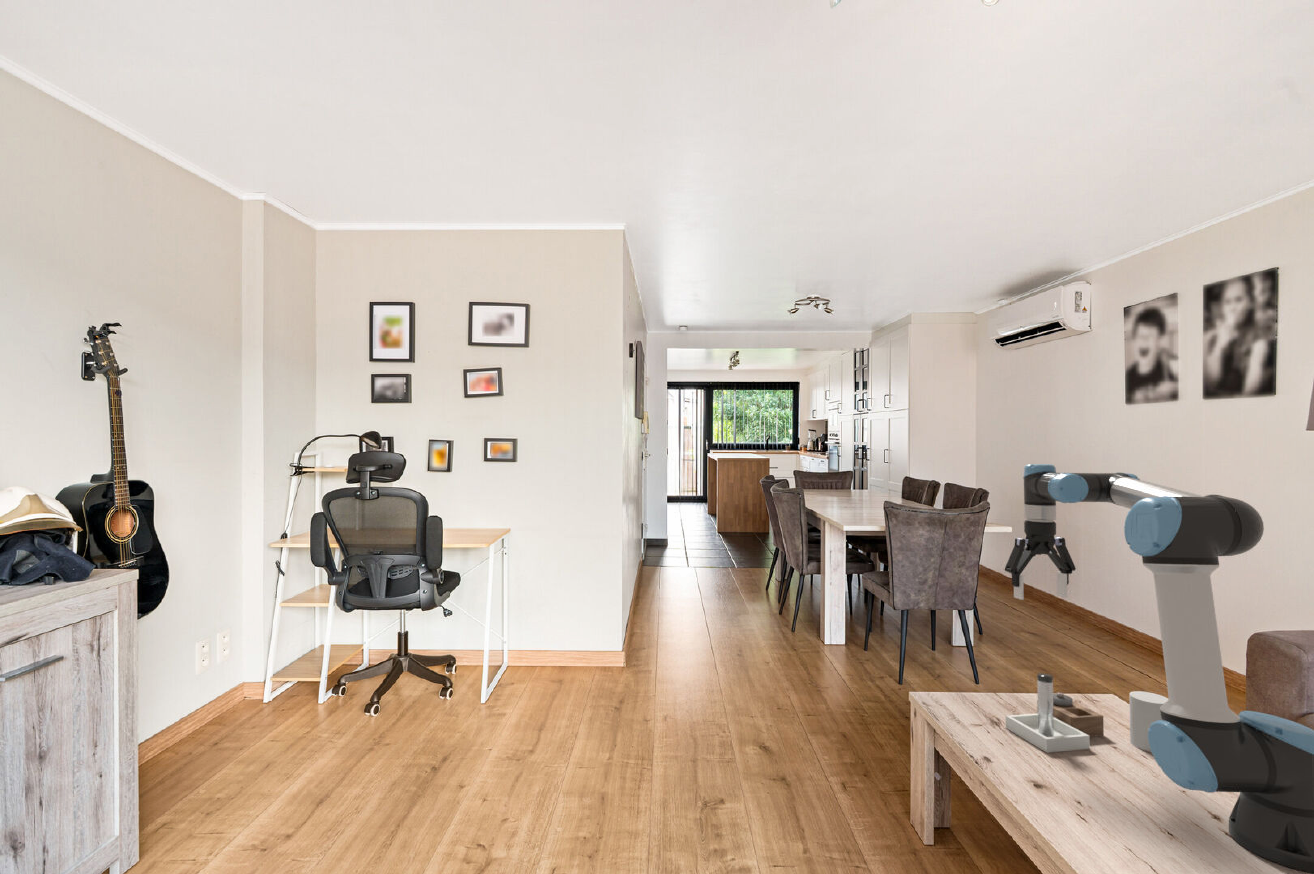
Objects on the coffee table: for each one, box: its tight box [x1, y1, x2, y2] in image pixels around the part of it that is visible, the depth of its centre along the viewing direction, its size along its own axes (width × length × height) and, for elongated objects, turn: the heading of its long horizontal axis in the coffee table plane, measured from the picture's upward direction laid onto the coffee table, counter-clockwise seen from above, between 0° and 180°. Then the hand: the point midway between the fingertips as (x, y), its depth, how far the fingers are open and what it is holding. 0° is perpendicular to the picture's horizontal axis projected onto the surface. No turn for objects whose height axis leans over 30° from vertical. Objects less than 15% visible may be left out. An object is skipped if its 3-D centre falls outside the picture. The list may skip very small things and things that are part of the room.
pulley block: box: [1036, 691, 1105, 737], centre depth 168 cm, size 12×9×8 cm
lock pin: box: [1036, 672, 1054, 737], centre depth 162 cm, size 3×3×15 cm
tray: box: [1005, 713, 1091, 753], centre depth 161 cm, size 14×12×3 cm
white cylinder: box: [1128, 690, 1169, 753], centre depth 157 cm, size 8×8×12 cm
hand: (1040, 597), depth 173 cm, fingers open, 13 cm apart
